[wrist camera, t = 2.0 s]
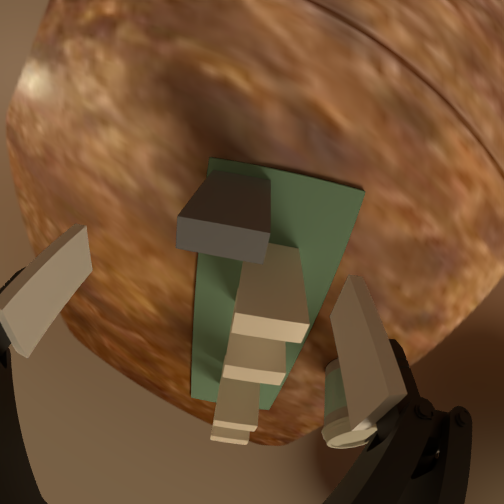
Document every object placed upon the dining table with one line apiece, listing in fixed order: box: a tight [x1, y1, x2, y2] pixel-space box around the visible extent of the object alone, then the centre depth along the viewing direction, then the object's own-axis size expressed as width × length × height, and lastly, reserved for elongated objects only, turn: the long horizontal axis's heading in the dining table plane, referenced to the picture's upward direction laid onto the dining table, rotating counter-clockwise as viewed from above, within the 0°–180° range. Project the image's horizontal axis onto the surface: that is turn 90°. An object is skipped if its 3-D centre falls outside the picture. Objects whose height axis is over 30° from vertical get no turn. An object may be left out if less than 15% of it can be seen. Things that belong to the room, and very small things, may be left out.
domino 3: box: [213, 355, 260, 431], centre depth 32 cm, size 2×5×10 cm, turn 80°
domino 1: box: [231, 243, 310, 343], centre depth 22 cm, size 2×5×10 cm, turn 80°
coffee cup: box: [322, 358, 377, 448], centre depth 31 cm, size 8×9×12 cm
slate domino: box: [176, 170, 271, 265], centre depth 19 cm, size 2×5×10 cm, turn 80°
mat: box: [191, 157, 365, 410], centre depth 33 cm, size 40×14×1 cm, turn 170°
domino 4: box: [211, 379, 250, 445], centre depth 35 cm, size 2×5×10 cm, turn 80°
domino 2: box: [223, 289, 286, 385], centre depth 25 cm, size 2×5×10 cm, turn 80°
